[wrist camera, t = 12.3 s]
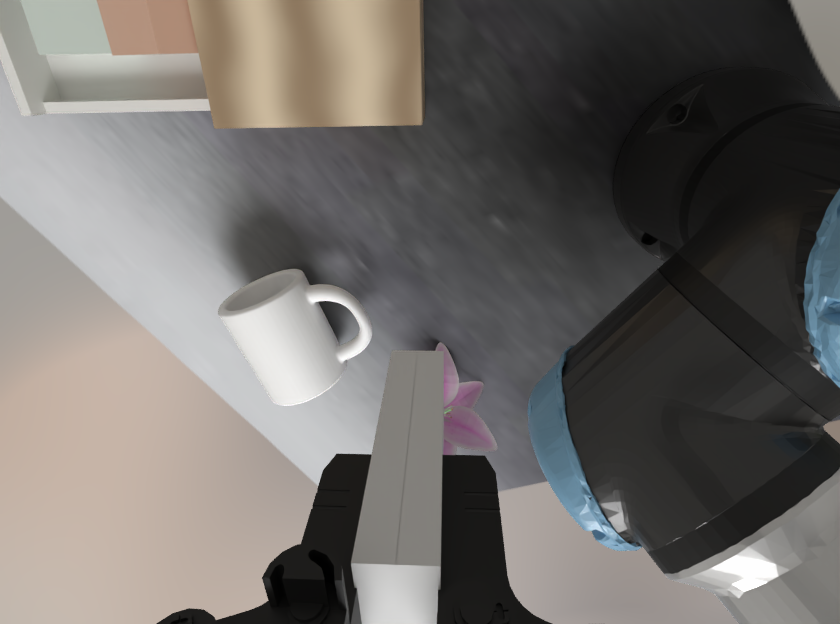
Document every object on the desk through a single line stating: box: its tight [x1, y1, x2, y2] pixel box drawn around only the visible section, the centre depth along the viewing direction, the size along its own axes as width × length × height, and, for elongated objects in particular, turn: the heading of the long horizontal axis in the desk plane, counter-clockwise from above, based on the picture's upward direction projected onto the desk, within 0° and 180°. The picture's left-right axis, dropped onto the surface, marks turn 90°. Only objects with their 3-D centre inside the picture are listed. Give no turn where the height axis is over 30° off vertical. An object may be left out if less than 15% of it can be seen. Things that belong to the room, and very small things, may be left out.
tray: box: [0, 0, 210, 116], centre depth 34 cm, size 15×14×4 cm
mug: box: [218, 269, 372, 406], centre depth 44 cm, size 12×10×8 cm
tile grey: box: [20, 0, 112, 55], centre depth 34 cm, size 6×6×3 cm
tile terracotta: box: [97, 0, 198, 56], centre depth 32 cm, size 6×6×3 cm
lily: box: [435, 342, 497, 455], centre depth 48 cm, size 12×12×10 cm
